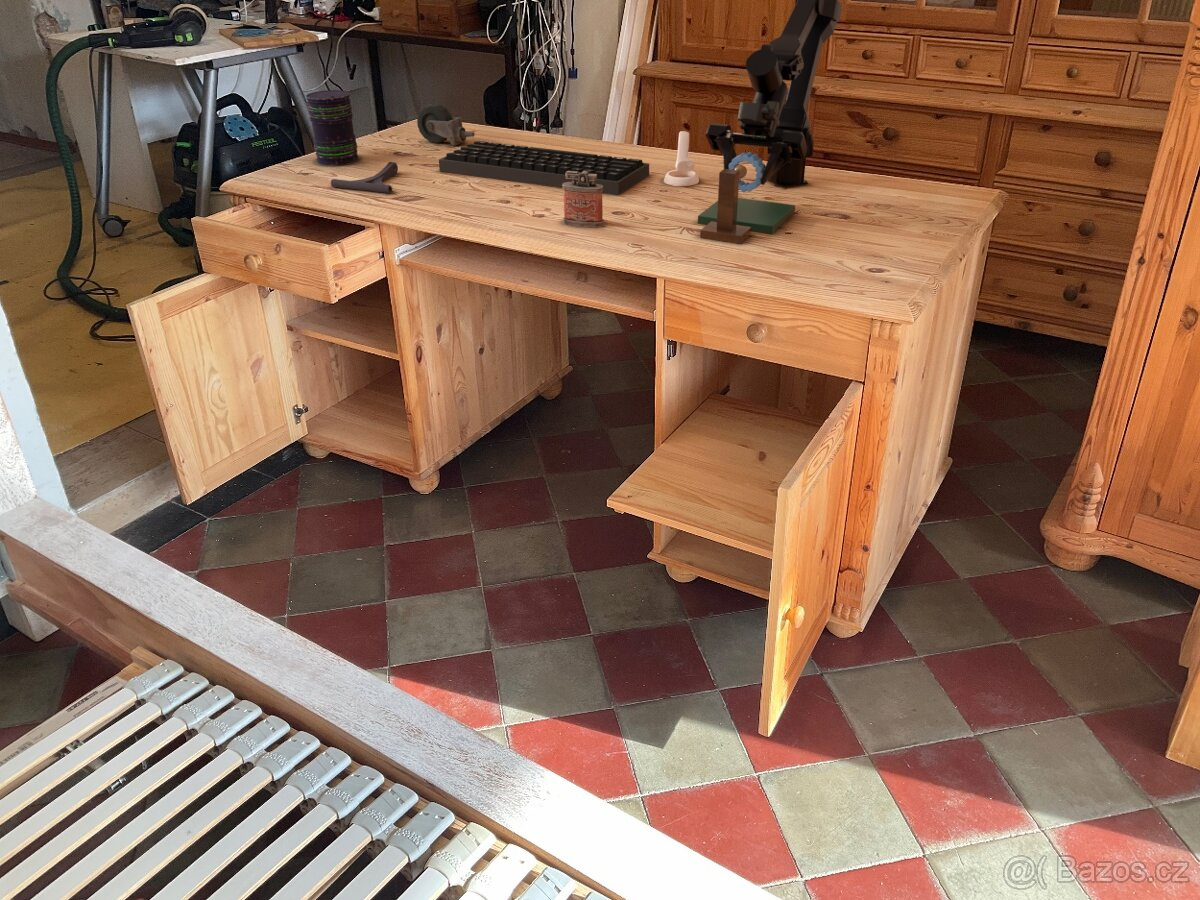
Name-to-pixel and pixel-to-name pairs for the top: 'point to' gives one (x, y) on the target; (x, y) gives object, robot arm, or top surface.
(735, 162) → the blue fluted ring
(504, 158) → the computer keyboard
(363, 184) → the dark grey branched pipe
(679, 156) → the white piece
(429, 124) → the caster wheel
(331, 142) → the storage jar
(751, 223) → the cutting board
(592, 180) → the lighter
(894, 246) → the top surface
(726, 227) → the peg stand
